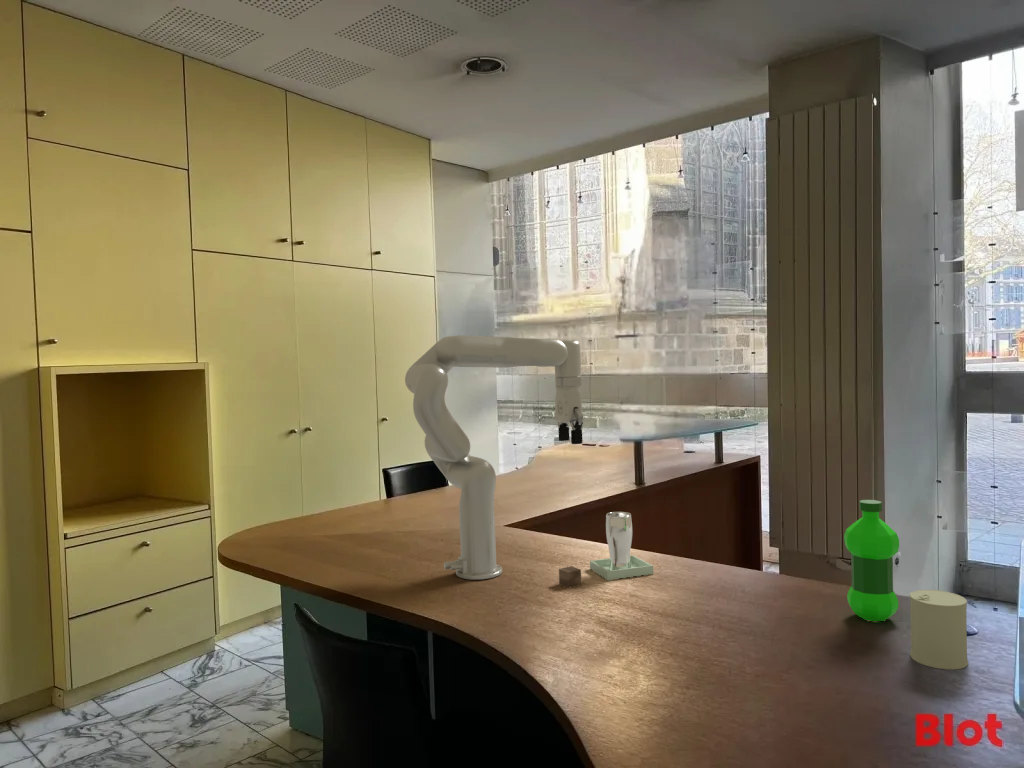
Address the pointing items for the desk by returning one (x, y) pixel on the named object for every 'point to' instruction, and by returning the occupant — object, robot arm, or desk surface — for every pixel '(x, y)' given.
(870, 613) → the plastic bottle
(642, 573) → the tray
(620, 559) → the beer glass
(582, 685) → the desk surface
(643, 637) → the desk surface
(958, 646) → the can
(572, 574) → the walnut block
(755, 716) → the desk surface
